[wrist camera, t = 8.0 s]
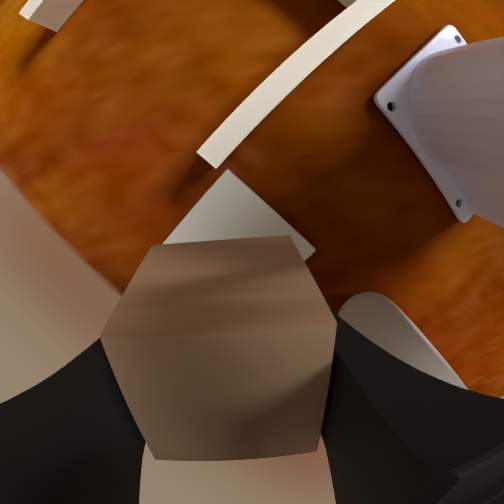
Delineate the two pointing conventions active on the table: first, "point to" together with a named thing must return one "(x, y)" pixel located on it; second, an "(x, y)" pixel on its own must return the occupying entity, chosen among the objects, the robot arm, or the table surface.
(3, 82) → the table surface
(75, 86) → the table surface
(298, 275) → the block
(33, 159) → the table surface
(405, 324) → the donut
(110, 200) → the table surface
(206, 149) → the cream u-shaped arch
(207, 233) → the mat
